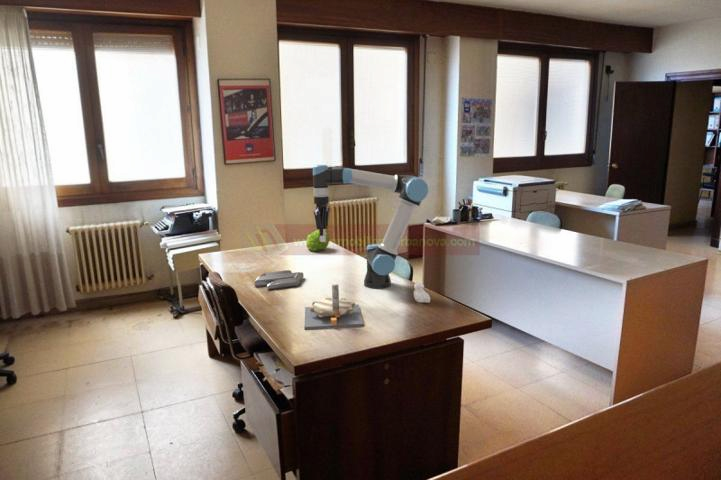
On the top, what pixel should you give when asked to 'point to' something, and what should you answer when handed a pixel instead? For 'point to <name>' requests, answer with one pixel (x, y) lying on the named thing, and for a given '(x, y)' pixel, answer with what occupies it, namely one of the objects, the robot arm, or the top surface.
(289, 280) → the grey flat lobed piece
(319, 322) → the sprocket stand
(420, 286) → the duck figurine
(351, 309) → the white lobed piece
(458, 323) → the top surface
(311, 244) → the lettuce
